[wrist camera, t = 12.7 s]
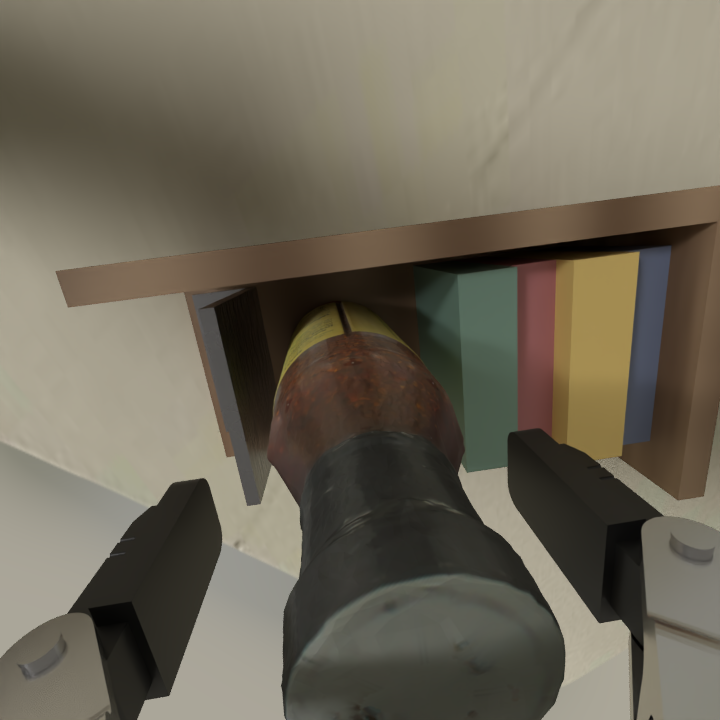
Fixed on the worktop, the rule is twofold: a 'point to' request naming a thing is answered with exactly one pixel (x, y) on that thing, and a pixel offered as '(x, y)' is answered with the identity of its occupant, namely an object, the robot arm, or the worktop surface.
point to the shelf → (469, 240)
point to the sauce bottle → (395, 545)
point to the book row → (546, 345)
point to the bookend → (241, 378)
